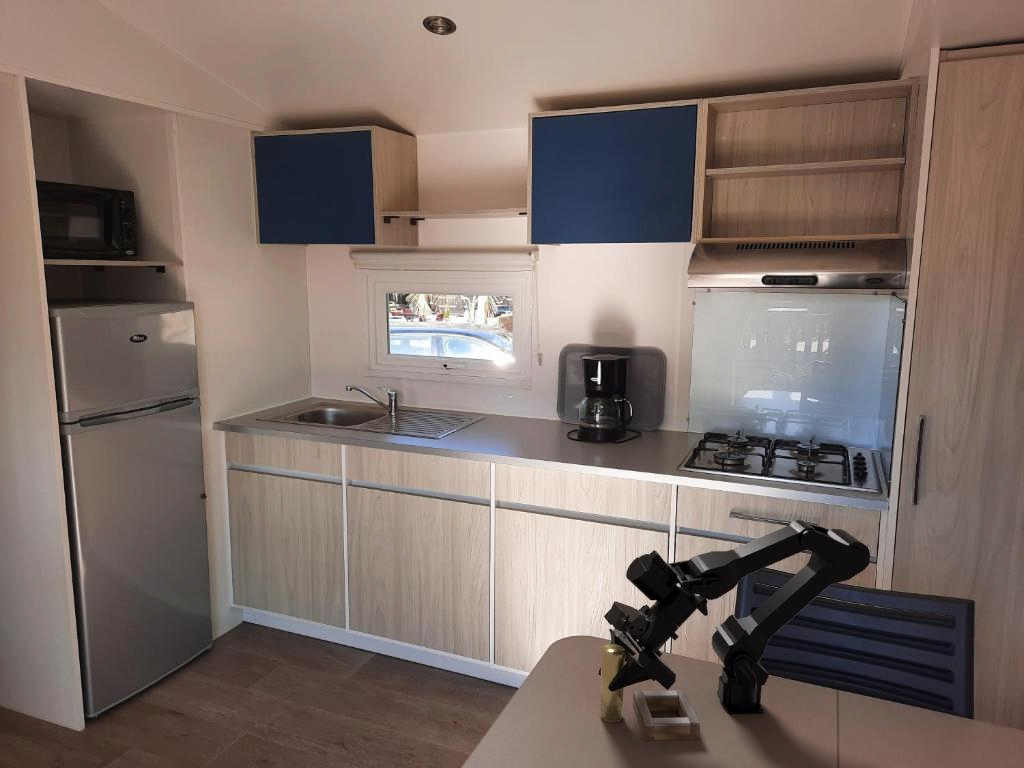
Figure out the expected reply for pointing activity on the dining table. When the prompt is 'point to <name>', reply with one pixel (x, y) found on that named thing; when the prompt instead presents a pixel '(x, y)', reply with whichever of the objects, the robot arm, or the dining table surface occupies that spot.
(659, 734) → the shallow grey tray
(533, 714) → the dining table surface
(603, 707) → the gold cylinder
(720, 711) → the dining table surface
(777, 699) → the dining table surface
